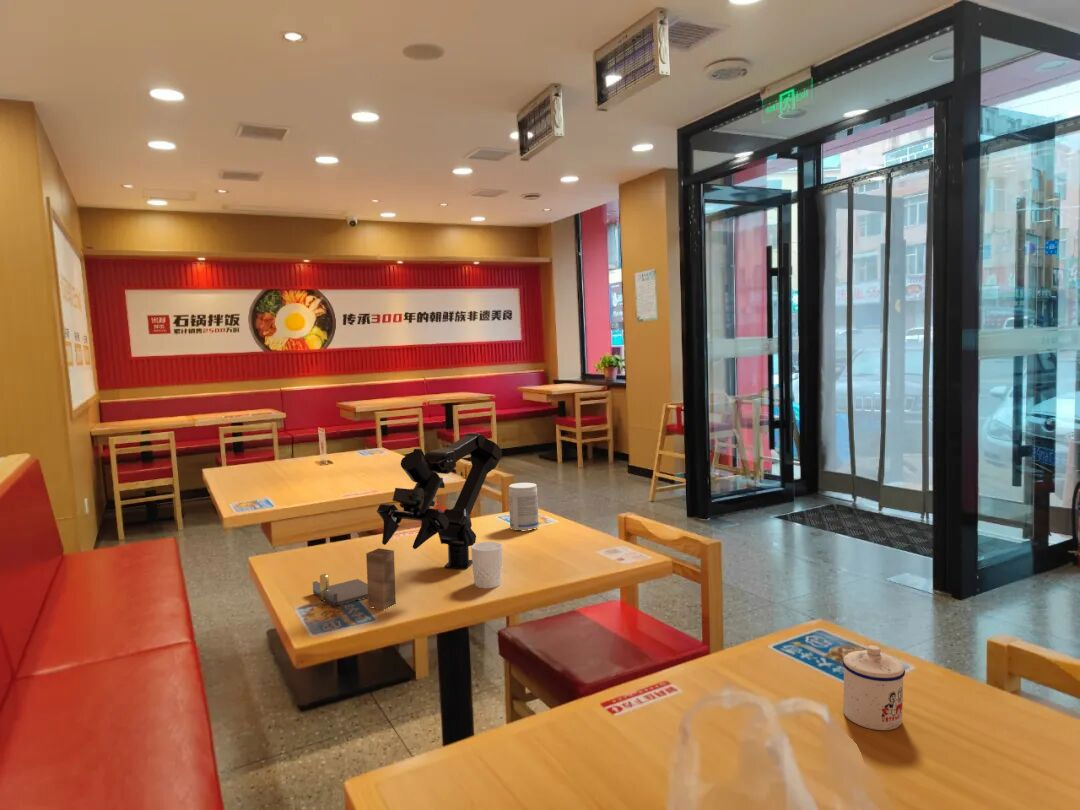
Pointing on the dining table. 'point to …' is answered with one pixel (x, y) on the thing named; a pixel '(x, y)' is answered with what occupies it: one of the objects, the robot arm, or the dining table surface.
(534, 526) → the supplement tub
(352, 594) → the keeper plate
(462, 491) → the robot arm
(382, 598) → the walnut post
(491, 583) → the white cup
